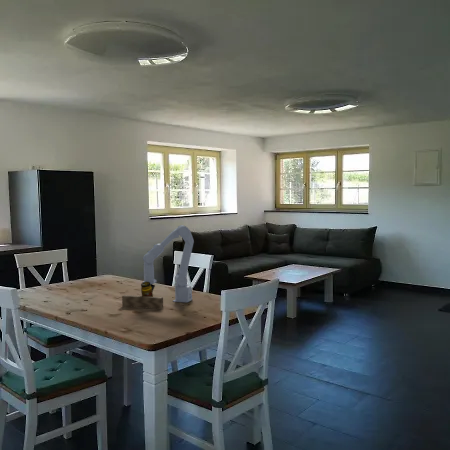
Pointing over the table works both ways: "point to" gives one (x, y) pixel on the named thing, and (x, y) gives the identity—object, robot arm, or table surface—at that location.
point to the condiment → (146, 289)
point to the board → (142, 302)
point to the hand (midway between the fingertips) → (149, 297)
